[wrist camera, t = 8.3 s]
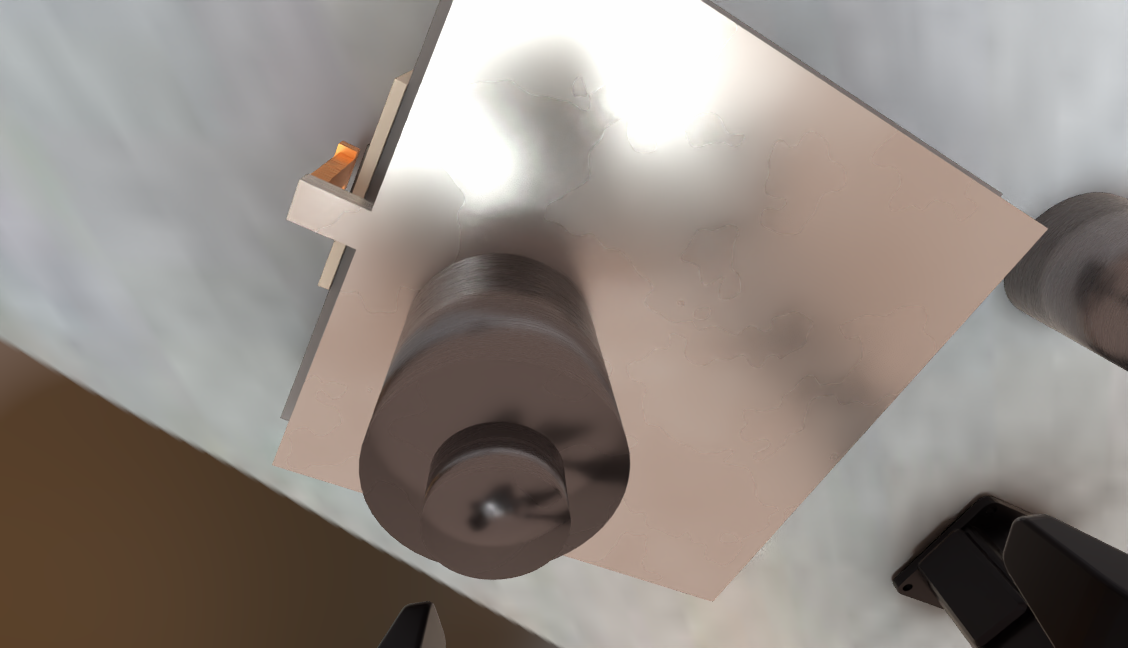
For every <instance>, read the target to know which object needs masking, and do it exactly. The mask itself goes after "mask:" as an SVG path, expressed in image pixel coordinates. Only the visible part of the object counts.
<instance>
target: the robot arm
mask: <svg viewBox="0 0 1128 648" xmlns="http://www.w3.org/2000/svg"><path fill="white" fill-rule="evenodd" d="M893 585H894V587H895V588H896V589H897V591H898V592H899V593H900V594H902V595H905V596H908V597H911V598H914V599H917V600H919V601H922V602H925V603H928V604H931V605H933V606H936V607H939V608H942V609H945V611H946V612H947V614H948V615H949V616H950V618H951V619H952V620H953V622H954V623H955V624H956V626H957V627H958V628H959V630H960V631H961V633H962V634H963V635H964V637H965V638H966V639H967V641H968V642H969V643H970V645H971V646H972V648H1128V554H1127V553H1125V552H1123V551H1121V550H1119V549H1117V548H1114V547H1112V546H1110V545H1108V544H1106V543H1104V542H1102V541H1100V540H1098V539H1096V538H1094V537H1092V536H1090V535H1088V534H1086V533H1084V532H1082V531H1080V530H1078V529H1076V528H1074V527H1072V526H1070V525H1068V524H1066V523H1064V522H1062V521H1060V520H1058V519H1056V518H1053V517H1051V516H1048V515H1044V514H1037V515H1033V514H1031V513H1029V512H1026V511H1024V510H1022V509H1020V508H1017V507H1015V506H1013V505H1011V504H1008V503H1006V502H1004V501H1002V500H999V499H997V498H995V497H992V496H986V497H983V498H981V499H979V500H978V501H977V502H976V503H975V504H974V505H973V506H972V507H970V508H969V509H968V510H967V511H966V512H965V513H964V514H963V515H962V516H961V517H960V518H959V519H958V520H957V521H956V522H955V523H953V524H952V525H951V526H950V527H949V528H948V529H947V530H946V531H945V532H944V533H943V534H942V535H941V536H940V537H939V538H938V539H936V540H935V541H934V542H933V543H932V544H931V545H930V546H929V547H928V548H927V549H926V550H925V551H924V552H923V553H922V554H921V555H919V556H918V557H917V558H916V559H915V560H914V561H913V562H912V563H911V564H910V565H909V566H908V567H907V568H906V569H905V570H904V571H902V572H901V573H900V574H899V575H898V576H897V577H896V578H895V579H894V581H893ZM378 648H446V644H445V637H444V632H443V629H442V627H441V623H440V620H439V617H438V614H437V612H436V609H435V606H434V604H433V603H432V602H430V601H426V602H419V603H412V604H408V605H406V606H405V607H404V608H403V609H402V610H401V612H400V613H399V615H398V616H397V618H396V620H395V621H394V623H393V624H392V626H391V627H390V629H389V630H388V632H387V633H386V635H385V636H384V638H383V640H382V641H381V643H380V644H379V646H378Z"/></svg>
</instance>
